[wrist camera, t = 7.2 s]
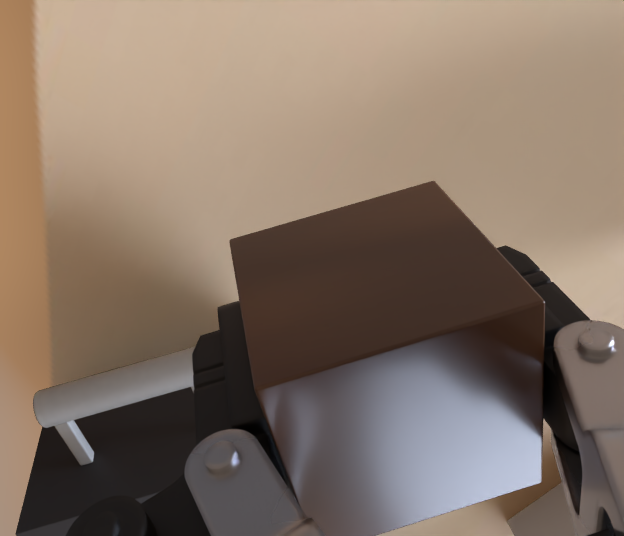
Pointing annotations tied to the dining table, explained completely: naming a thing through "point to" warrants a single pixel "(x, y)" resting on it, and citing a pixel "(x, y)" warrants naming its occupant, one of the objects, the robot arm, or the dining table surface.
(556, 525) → the tray
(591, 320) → the robot arm
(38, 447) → the drawer
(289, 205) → the dining table surface
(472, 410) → the block
